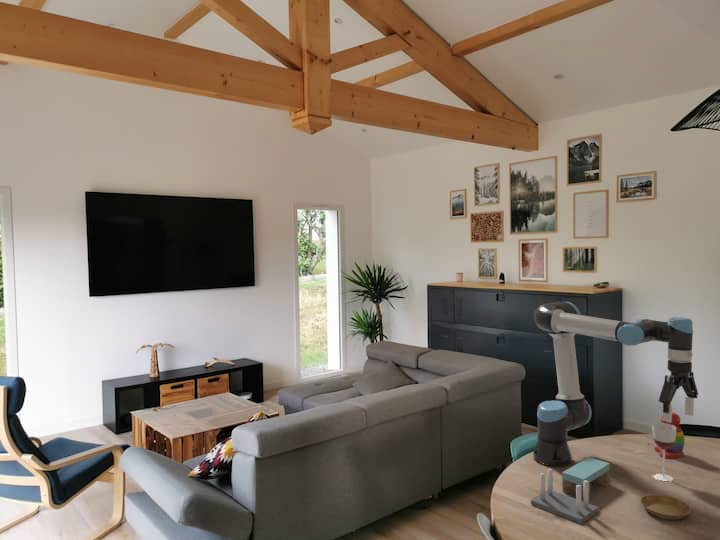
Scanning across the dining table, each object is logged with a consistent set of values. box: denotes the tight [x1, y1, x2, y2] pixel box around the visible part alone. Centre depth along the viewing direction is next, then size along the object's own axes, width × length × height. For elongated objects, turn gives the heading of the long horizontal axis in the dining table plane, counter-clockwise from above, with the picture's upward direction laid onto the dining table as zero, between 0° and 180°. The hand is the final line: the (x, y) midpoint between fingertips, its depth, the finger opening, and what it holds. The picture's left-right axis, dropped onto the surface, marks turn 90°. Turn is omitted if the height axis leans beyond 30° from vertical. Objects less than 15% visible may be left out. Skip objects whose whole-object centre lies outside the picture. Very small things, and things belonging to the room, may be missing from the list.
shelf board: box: [561, 457, 611, 486], centre depth 199 cm, size 20×8×2 cm, turn 131°
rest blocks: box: [562, 470, 611, 499], centre depth 200 cm, size 9×18×5 cm, turn 131°
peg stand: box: [530, 468, 599, 525], centre depth 185 cm, size 18×12×10 cm, turn 41°
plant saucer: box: [639, 494, 692, 521], centre depth 181 cm, size 15×15×3 cm
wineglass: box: [651, 422, 676, 483], centre depth 206 cm, size 8×9×20 cm
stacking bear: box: [654, 412, 685, 459], centre depth 229 cm, size 11×10×18 cm
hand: (678, 418), depth 197 cm, fingers open, 13 cm apart
